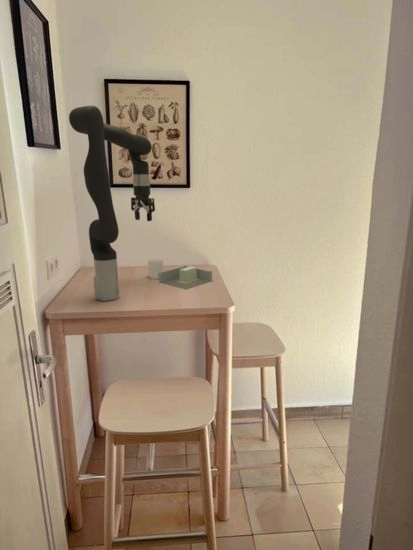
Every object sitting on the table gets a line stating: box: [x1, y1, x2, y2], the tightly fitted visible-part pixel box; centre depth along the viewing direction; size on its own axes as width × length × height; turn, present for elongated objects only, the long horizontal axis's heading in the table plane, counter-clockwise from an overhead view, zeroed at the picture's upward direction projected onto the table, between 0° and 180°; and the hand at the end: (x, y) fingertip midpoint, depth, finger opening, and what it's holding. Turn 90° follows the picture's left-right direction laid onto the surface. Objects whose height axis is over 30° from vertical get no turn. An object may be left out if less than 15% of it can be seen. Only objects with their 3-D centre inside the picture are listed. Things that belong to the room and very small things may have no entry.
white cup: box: [147, 257, 164, 280], centre depth 190 cm, size 8×8×10 cm
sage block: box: [179, 266, 198, 283], centre depth 183 cm, size 4×8×6 cm, turn 138°
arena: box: [158, 265, 213, 291], centre depth 181 cm, size 18×18×6 cm
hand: (143, 220), depth 177 cm, fingers open, 8 cm apart
